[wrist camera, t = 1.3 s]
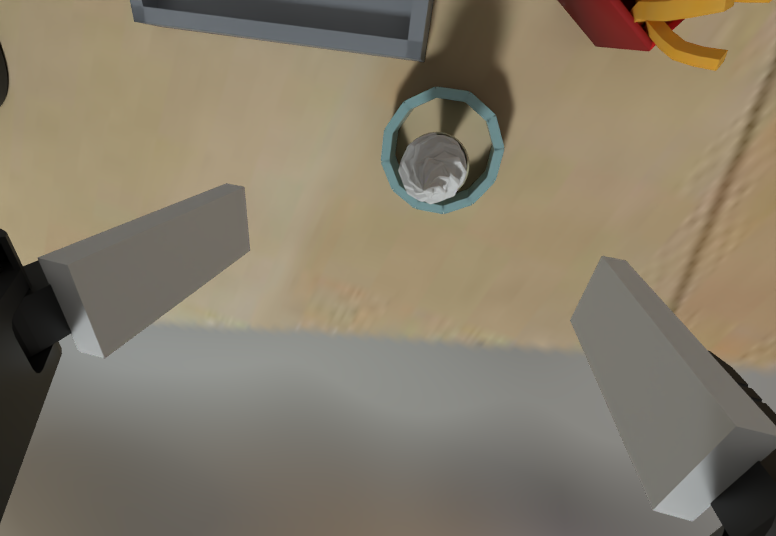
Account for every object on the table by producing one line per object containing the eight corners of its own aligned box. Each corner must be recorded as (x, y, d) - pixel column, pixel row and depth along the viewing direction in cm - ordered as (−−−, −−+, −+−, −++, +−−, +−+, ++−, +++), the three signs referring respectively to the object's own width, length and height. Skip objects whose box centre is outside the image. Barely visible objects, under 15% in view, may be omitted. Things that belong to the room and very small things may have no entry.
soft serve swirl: (433, 111, 31) (409, 128, 18) (479, 139, 32) (487, 175, 19) (407, 159, 34) (369, 205, 21) (450, 185, 34) (440, 245, 21)
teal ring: (382, 193, 36) (376, 201, 33) (396, 80, 31) (389, 79, 28) (482, 211, 35) (484, 221, 32) (514, 97, 30) (518, 98, 27)
